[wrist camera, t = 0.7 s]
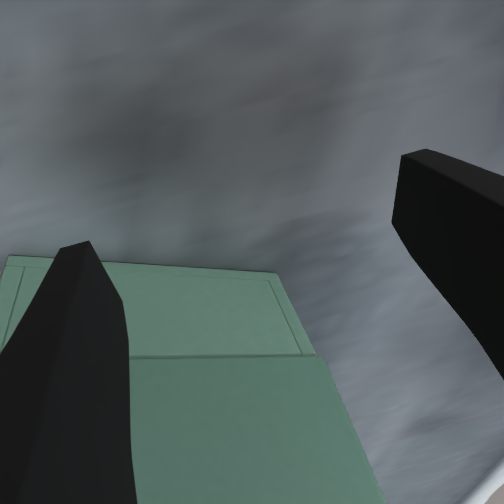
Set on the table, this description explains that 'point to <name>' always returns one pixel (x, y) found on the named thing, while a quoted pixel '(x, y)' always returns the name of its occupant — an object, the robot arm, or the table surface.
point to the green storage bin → (179, 310)
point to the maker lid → (244, 433)
